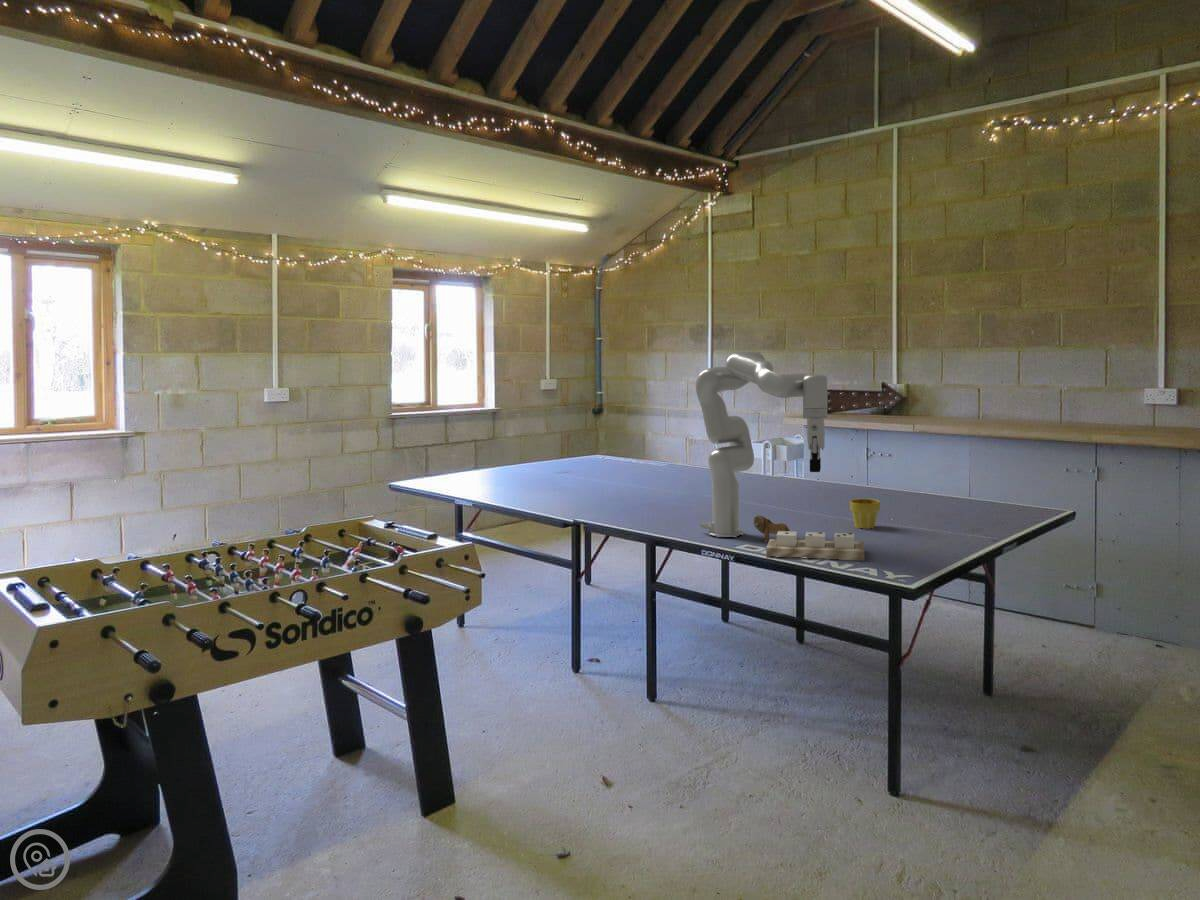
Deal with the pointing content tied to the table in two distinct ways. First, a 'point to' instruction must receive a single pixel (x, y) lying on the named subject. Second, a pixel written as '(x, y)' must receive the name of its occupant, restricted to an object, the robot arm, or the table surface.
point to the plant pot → (864, 512)
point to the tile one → (786, 538)
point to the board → (816, 551)
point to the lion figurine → (768, 526)
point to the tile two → (815, 539)
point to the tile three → (844, 540)
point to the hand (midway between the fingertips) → (815, 470)
